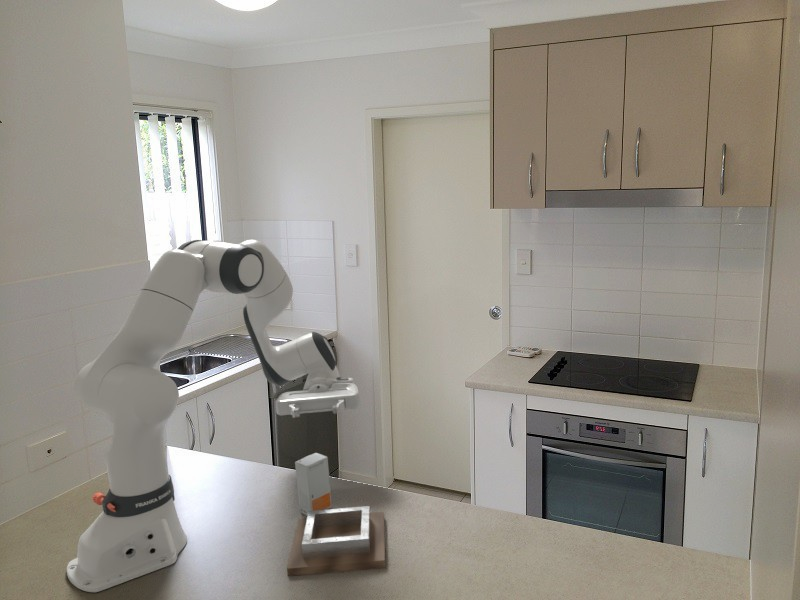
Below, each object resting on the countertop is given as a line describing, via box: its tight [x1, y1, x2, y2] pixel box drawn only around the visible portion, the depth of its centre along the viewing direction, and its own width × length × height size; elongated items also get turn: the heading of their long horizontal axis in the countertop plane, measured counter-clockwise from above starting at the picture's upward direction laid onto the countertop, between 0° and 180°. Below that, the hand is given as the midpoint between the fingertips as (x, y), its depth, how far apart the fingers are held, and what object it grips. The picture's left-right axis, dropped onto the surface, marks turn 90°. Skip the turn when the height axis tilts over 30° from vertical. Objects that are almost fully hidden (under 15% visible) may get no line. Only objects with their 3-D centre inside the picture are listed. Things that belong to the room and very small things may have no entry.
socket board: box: [286, 505, 386, 577], centre depth 133 cm, size 18×18×4 cm
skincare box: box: [294, 452, 333, 516], centre depth 147 cm, size 6×4×12 cm
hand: (315, 412), depth 156 cm, fingers open, 8 cm apart
